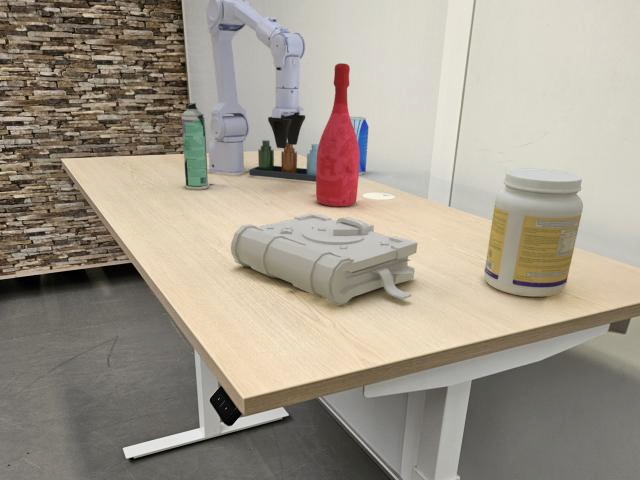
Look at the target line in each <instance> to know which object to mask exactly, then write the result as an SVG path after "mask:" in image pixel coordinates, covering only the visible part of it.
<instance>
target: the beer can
mask: <svg viewBox="0 0 640 480" xmlns="http://www.w3.org/2000/svg"><path fill="white" fill-rule="evenodd" d="M349 116H350V115H349ZM350 119H351V122H352V125H353V128H354V131H355V134H356V137H357V141H358V145H359V153H360V160H359V176H362V175H365V173H366V170H367V158H368V157H367V156H368V155H367V154H368V143H369V141H368V139H369V124H368V122H367V120H366V119H367V118H366V117H363V116H350Z"/></svg>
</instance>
